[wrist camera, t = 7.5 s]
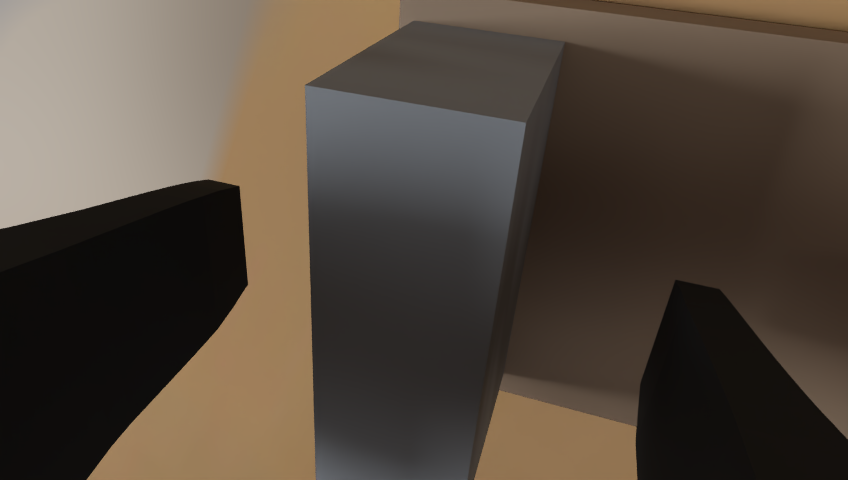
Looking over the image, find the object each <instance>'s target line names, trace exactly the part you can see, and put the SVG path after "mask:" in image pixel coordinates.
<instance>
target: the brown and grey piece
mask: <svg viewBox="0 0 848 480" xmlns="http://www.w3.org/2000/svg"><path fill="white" fill-rule="evenodd" d="M305 99H306V135H307V172H308V208H309V245H310V281H311V318H312V354H313V391H314V427H315V464H316V480H474V477H475V474H476V470H477V467H478V463H479V460H480V456H481V452H482V449H483V445H484V442H485V438H486V435H487V431H488V427H489V424H490V420H491V417H492V413H493V410H494V406H495V402H496V399H497V395H498V392H499V390H501V391H505V392H508V393H512V394H516V395H520V396H523V397H527V398H531V399H535V400H539V401H542V402H546V403H550V404H554V405H557V406H561V407H565V408H569V409H572V410H576V411H580V412H584V413H587V414H591V415H595V416H599V417H602V418H606V419H610V420H614V421H617V422H621V423H625V424H629V425H633V426H636V427H637V415H638V404H639V392H640V382H641V379H642V377H643V374H644V371H645V368H646V365H647V362H648V359H649V356H650V353H651V350H652V347H653V344H654V341H655V338H656V335H657V332H658V329H659V327H660V324H661V321H662V318H663V315H664V312H665V309H666V306H667V303H668V300H669V297H670V294H671V291H672V288H673V285H674V282H675V280H680V281H685V282H689V283H694V284H699V285H703V286H708V287H713V288H717V289H720V290H721V291H722V292H723V294H724V295H725V296H726V297H727V298H728V299H729V301H730V302H731V303H732V304H733V306H734V307H735V308H736V309H737V311H738V312H739V313H740V315H741V316H742V317H743V318H744V320H745V321H746V322H747V323H748V325H749V326H750V327H751V328H752V330H753V331H754V332H755V334H756V335H757V336H758V337H759V339H760V340H761V341H762V342H763V344H764V345H765V346H766V347H767V349H768V350H769V351H770V352H771V353H772V355H773V356H774V357H775V358H776V360H777V361H778V362H779V363H780V364H781V366H782V367H783V368H784V369H785V370H786V372H787V373H788V374H789V375H790V376H791V378H792V379H793V380H794V381H795V382H796V383H797V384H798V386H799V387H800V388H801V389H802V390H803V391H804V393H805V394H806V395H807V396H808V397H809V398H810V399H811V400H812V402H813V403H814V404H815V405H816V406H817V407H818V408H819V409H820V410H821V412H822V413H823V414H824V415H825V416H826V417H827V418H828V419H829V420H830V421H831V422H832V423H833V424H834V425H835V426H836V427H837V428H838V430H839V431H840V432H841V433H842V434H843V435H844V436H845V437H846V438H847V439H848V32H842V31H834V30H826V29H818V28H810V27H802V26H794V25H786V24H778V23H770V22H762V21H754V20H746V19H738V18H730V17H722V16H714V15H706V14H698V13H689V12H681V11H673V10H665V9H657V8H649V7H641V6H633V5H625V4H617V3H609V2H601V1H593V0H400V18H399V30H397V31H395V32H394V33H392V34H390V35H389V36H387V37H385V38H384V39H382V40H380V41H379V42H377V43H375V44H373V45H372V46H370V47H368V48H367V49H365V50H363V51H362V52H360V53H358V54H357V55H355V56H353V57H352V58H350V59H348V60H347V61H345V62H343V63H342V64H340V65H338V66H337V67H335V68H333V69H331V70H330V71H328V72H326V73H325V74H323V75H321V76H320V77H318V78H316V79H315V80H313V81H311V82H310V83H308V84H306V85H305Z"/></svg>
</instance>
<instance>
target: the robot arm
mask: <svg viewBox="0 0 848 480" xmlns="http://www.w3.org/2000/svg"><path fill="white" fill-rule="evenodd" d="M247 285H248V280H247V268H246V257H245V245H244V234H243V222H242V211H241V199H240V187H239V186H236V185H232V184H227V183H222V182H218V181H213V180H201V181H194V182H189V183H184V184H179V185H175V186H170V187H166V188H162V189H159V190H155V191H150V192H146V193H143V194H139V195H135V196H131V197H128V198H124V199H120V200H116V201H113V202H109V203H105V204H102V205H98V206H94V207H90V208H87V209H83V210H79V211H75V212H71V213H66V214H62V215H58V216H54V217H50V218H46V219H42V220H37V221H33V222H29V223H25V224H21V225H17V226H12V227H9V228H3V229H0V480H87V478H88V477H89V476H90V474H91V473H92V472H93V470H94V469H95V468H96V466H97V465H98V464H99V462H100V461H101V460H102V458H103V457H104V456H105V454H106V453H107V452H108V450H109V449H110V448H111V446H112V445H113V444H114V443H115V442H116V440H117V439H118V438H119V437H120V436H121V434H122V433H123V432H124V431H125V430H126V429H127V427H128V426H129V425H130V424H131V423H132V422H133V421H134V420H135V418H136V417H137V416H138V415H139V414H140V413H141V412H142V411H143V410H144V409H145V408H146V407H147V406H148V404H149V403H150V402H151V401H152V400H153V399H154V398H155V397H156V396H157V395H158V394H159V393H160V392H161V390H162V389H163V388H164V387H165V386H166V385H167V384H168V383H169V382H170V381H171V380H172V379H173V378H174V376H175V375H176V374H177V373H178V372H179V371H180V370H181V369H182V368H183V367H184V366H185V365H186V364H187V362H188V361H189V360H190V359H191V358H192V357H193V356H194V355H195V354H196V353H197V351H198V350H199V349H200V348H201V347H202V346H203V345H204V344H205V343H206V342H207V340H208V339H209V338H210V337H211V336H212V335H213V334H214V333H215V331H216V330H217V329H218V328H219V327H220V325H221V324H222V322H223V321H224V320H225V318H226V317H227V315H228V314H229V312H230V311H231V310H232V308H233V307H234V305H235V304H236V302H237V301H238V299H239V297H240V296H241V294H242V293H243V291H244V290H245V288H246V287H247ZM636 459H637V478H638V480H848V439H847V438H846V437H845V436H844V435H843V434H842V433H841V432H840V431H839V430H838V428H837V427H836V426H835V425H834V424H833V423H832V422H831V421H830V420H829V419H828V418H827V417H826V416H825V415H824V414H823V413H822V412H821V410H820V409H819V408H818V407H817V406H816V405H815V404H814V403H813V402H812V400H811V399H810V398H809V397H808V396H807V395H806V394H805V393H804V391H803V390H802V389H801V388H800V387H799V386H798V384H797V383H796V382H795V381H794V380H793V379H792V378H791V376H790V375H789V374H788V373H787V372H786V370H785V369H784V368H783V367H782V366H781V364H780V363H779V362H778V361H777V360H776V358H775V357H774V356H773V355H772V353H771V352H770V351H769V350H768V349H767V347H766V346H765V345H764V344H763V342H762V341H761V340H760V339H759V337H758V336H757V335H756V334H755V332H754V331H753V330H752V328H751V327H750V326H749V325H748V323H747V322H746V321H745V320H744V318H743V317H742V316H741V315H740V313H739V312H738V311H737V309H736V308H735V307H734V306H733V304H732V303H731V302H730V301H729V299H728V298H727V297H726V296H725V295H724V294H723V292H722V291H721V290H720V289H717V288H713V287H708V286H703V285H699V284H694V283H689V282H685V281H680V280H675V282H674V285H673V288H672V291H671V294H670V297H669V300H668V303H667V306H666V309H665V312H664V315H663V318H662V321H661V324H660V327H659V329H658V332H657V335H656V338H655V341H654V344H653V347H652V350H651V353H650V356H649V359H648V362H647V365H646V368H645V371H644V374H643V377H642V379H641V382H640V392H639V404H638V415H637V430H636Z"/></svg>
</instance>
